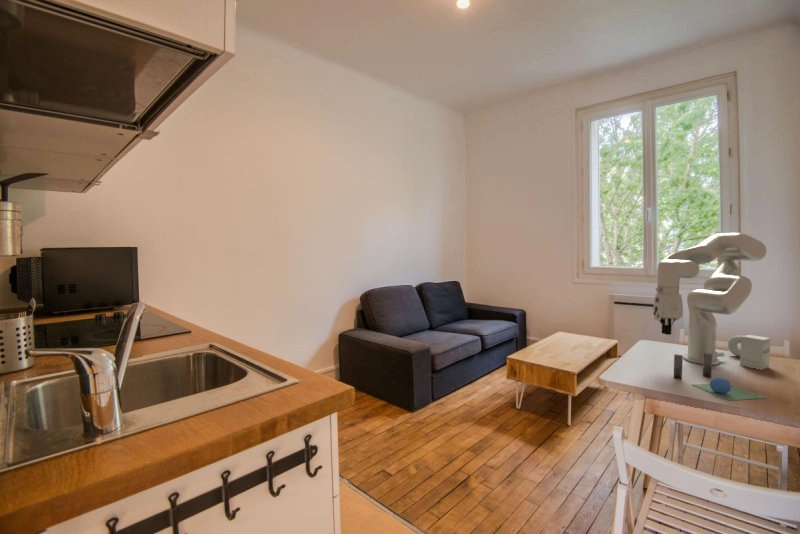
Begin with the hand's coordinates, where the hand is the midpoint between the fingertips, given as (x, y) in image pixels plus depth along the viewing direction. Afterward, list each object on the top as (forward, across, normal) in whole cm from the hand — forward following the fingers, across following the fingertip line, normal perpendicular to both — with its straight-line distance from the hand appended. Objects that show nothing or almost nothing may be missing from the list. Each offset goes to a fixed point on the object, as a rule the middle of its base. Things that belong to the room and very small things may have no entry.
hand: (666, 333), depth 160 cm
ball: (+11, -4, -28) cm, 30 cm away
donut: (+14, +44, +7) cm, 47 cm away
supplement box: (+14, +37, -5) cm, 40 cm away
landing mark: (+14, 0, -27) cm, 30 cm away
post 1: (+14, -6, -13) cm, 20 cm away
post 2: (+14, +6, -13) cm, 20 cm away
